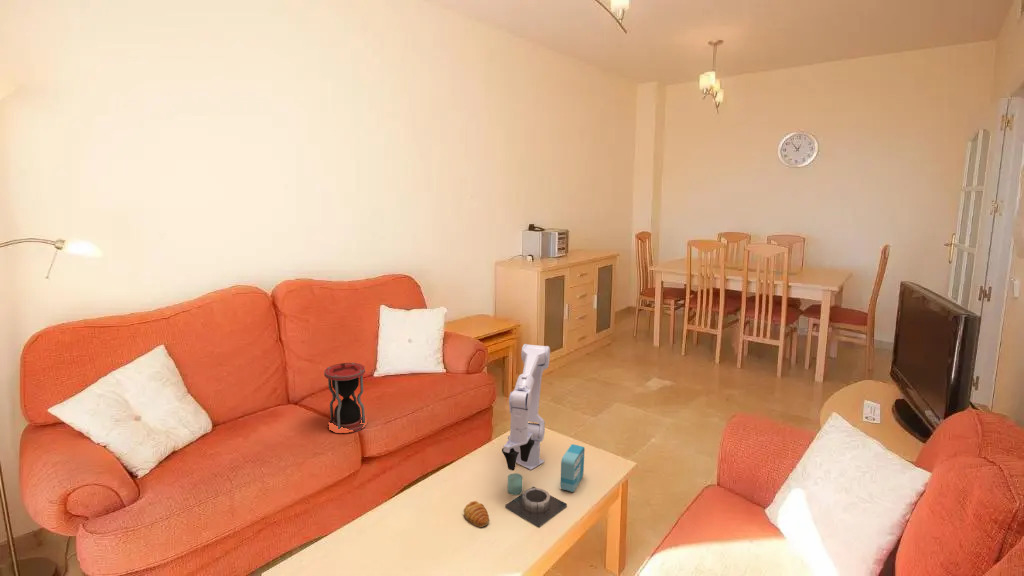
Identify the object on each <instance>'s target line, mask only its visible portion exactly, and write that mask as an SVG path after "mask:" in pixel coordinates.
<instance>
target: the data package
mask: <svg viewBox="0 0 1024 576" xmlns="http://www.w3.org/2000/svg"><path fill="white" fill-rule="evenodd" d="M568 447H569V448H568V449H567V450H566V452H564V454H563V456H562V457H561V462H560V483H559V484H560V486H559V487H560V489H561V490H564V491H568V492H571V493H574V492H575V490H576V489H577V487H578V486H579V484H580V483H581V480H582V478H583V476H584V471H585V470H584V469H585V468H584V467H585V449H586V448H585V446H581V445H578V444H570V446H568Z"/></svg>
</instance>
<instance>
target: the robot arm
mask: <svg viewBox="0 0 1024 576" xmlns="http://www.w3.org/2000/svg"><path fill="white" fill-rule="evenodd" d="M520 355H521V361H522V362H523V371H522V373H521V374H519V376H518V377H517V379H516V381H515V387H514V389H513V391H510V394H509V397H508V405H509V414H510V428H509V431H510V432H509V435H507V439H508V440H507V441H506V443H505V444H504V445H503V447H502V448H501V453H502V454H503V456H504V458H505V461H506V464H507V469H508V470H509V471H512V472H513V471H515V469H516V464H518V465H520V466H522V467H524V468H526V469H528V470H531V471H532V470H534V469H535V468H536V467H539V466H540V465H542V464H544V462H545V460H544V459H543V458H540V457H541V454H540V452H541V449H540V448H541V443H542V442H543V440H544V439H545V434H546V432H545V431H546V429H545V424H546V422H545V420H544V418H543V417H542V416H540V414H539V409H540V399H541V390H542V389H541V388H542V378H543V373H544V371H545V370H548V368H549V365H550V358H551V348H550V346H549V345H537V344H528V343H524V344H523V345H522V347H521V353H520Z"/></svg>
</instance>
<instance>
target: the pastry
mask: <svg viewBox="0 0 1024 576" xmlns="http://www.w3.org/2000/svg"><path fill="white" fill-rule="evenodd" d="M488 512H489V511H488V510H487V508H486V507H485V505H484V504H483V503H480V502H478V501H477V500H474V501H469V503H468V504H466V505H465V507H464V509H463V515H464V518H465V519H466V521H468V522H469V523H470V524H472V525H473V524H474V525H473V526H475V527H479V528H482V527H485V526H487V525H488V524H489V522H490V517H489V513H488Z"/></svg>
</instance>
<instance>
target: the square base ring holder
mask: <svg viewBox="0 0 1024 576" xmlns="http://www.w3.org/2000/svg"><path fill="white" fill-rule="evenodd" d="M567 507H568V504H567V503H566V502H564V501H562V500H560V499H558V498H557V497H554V496H552V495H550V493H549V492H548V490H546V489H545V490H544V489H543V488H537V487H536V486H531V488H528V489H526V490H525V491H523V492H522V493H521V494H519V495H517V497H515V498H513V499H512V500H510V501H509V502H508V503H506V504H505V509H507V510H509V511H510V512H512V513H514V514H516V515H517V516H519V517H521V518H522V519H524V520H526V521H527V522H530V523H531V524H533V526H536V527H538V528H541V527H542V526H543V525H544V524H546V523H547V522H548V521H550V520H551V519H552V518H554V517H555V516H556V515H557V514H559V513H561V512H562V511H563V510H564V509H566V508H567Z"/></svg>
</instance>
